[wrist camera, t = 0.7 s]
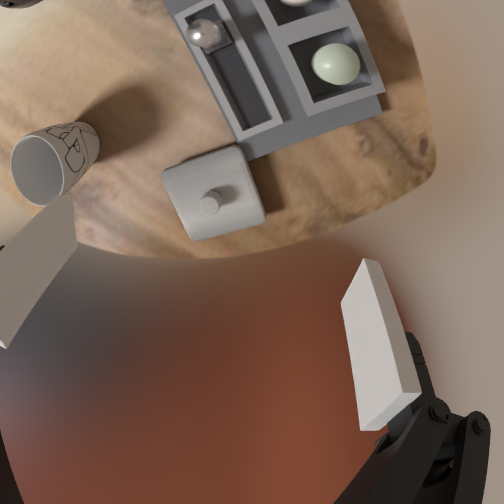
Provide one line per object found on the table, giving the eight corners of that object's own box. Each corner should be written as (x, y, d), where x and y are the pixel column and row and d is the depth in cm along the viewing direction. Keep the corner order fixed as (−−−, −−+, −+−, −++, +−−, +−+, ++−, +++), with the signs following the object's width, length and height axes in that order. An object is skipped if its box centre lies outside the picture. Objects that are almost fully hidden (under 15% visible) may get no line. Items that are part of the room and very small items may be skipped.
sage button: (304, 52, 24) (309, 50, 21) (341, 41, 23) (350, 38, 20) (320, 86, 26) (326, 90, 23) (355, 75, 25) (366, 77, 22)
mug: (54, 184, 39) (12, 217, 30) (36, 131, 34) (-12, 156, 26) (116, 165, 37) (75, 198, 29) (97, 104, 32) (48, 123, 24)
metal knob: (197, 33, 26) (179, 27, 21) (221, 21, 25) (209, 12, 20) (208, 54, 27) (193, 53, 22) (233, 43, 27) (223, 38, 22)
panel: (149, -27, 23) (129, -38, 18) (282, -83, 18) (282, -103, 14) (247, 158, 35) (242, 174, 31) (378, 111, 31) (395, 120, 26)
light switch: (241, 138, 34) (236, 149, 30) (268, 212, 39) (267, 233, 35) (165, 165, 37) (150, 180, 32) (197, 232, 42) (187, 253, 37)
